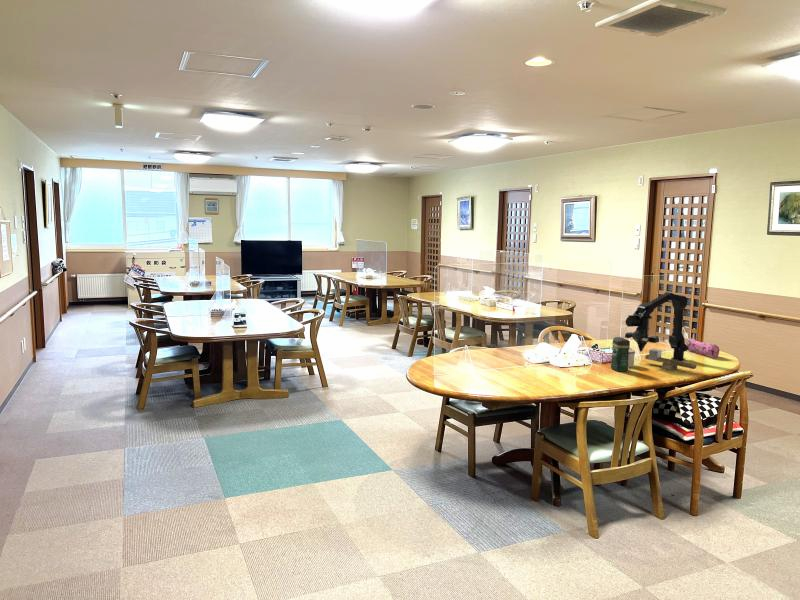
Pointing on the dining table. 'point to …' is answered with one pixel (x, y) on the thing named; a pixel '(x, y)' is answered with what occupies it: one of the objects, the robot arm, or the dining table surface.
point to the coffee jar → (620, 354)
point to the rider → (654, 354)
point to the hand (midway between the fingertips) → (640, 351)
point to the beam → (673, 363)
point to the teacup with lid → (631, 357)
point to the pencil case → (703, 348)
